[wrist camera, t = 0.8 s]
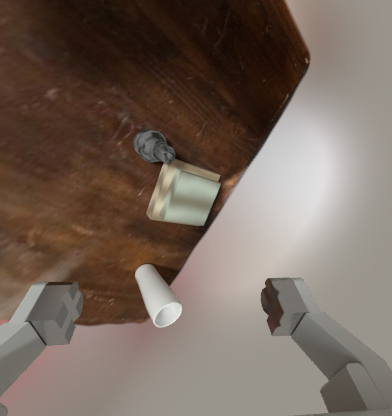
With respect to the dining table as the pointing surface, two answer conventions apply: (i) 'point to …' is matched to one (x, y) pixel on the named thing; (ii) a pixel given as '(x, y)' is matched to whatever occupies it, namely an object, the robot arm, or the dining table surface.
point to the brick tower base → (166, 182)
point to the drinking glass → (157, 296)
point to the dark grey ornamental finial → (153, 147)
